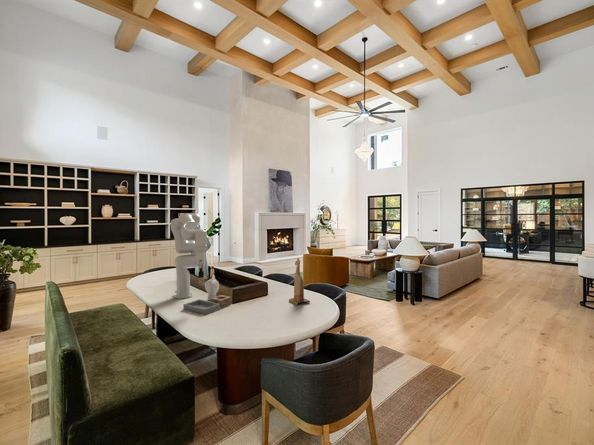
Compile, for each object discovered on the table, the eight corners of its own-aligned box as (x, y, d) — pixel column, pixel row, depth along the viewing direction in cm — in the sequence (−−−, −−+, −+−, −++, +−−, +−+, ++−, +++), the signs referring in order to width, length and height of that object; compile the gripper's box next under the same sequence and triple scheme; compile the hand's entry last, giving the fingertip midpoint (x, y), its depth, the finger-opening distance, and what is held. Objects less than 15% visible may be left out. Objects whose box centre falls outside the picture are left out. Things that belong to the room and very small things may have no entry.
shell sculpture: (211, 302, 207) (210, 277, 206) (204, 300, 212) (203, 275, 211) (220, 299, 214) (220, 275, 213) (213, 297, 219) (213, 273, 218)
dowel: (198, 285, 189) (198, 264, 189) (198, 284, 193) (198, 263, 192) (204, 285, 190) (204, 264, 190) (204, 284, 193) (204, 263, 193)
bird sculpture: (301, 299, 214) (300, 256, 214) (310, 303, 204) (309, 257, 204) (288, 302, 208) (287, 257, 208) (297, 306, 198) (295, 259, 198)
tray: (183, 309, 191) (183, 304, 191) (199, 304, 203) (199, 299, 202) (204, 315, 181) (204, 309, 181) (220, 309, 192) (219, 303, 192)
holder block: (210, 305, 200) (210, 298, 199) (221, 301, 208) (221, 294, 208) (221, 308, 194) (221, 300, 194) (231, 304, 203) (231, 296, 203)
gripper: (196, 247, 198) (196, 274, 198) (193, 250, 182) (194, 279, 182) (207, 247, 200) (208, 273, 200) (206, 250, 183) (206, 279, 184)
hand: (201, 276), depth 191 cm, fingers closed on dowel, 3 cm apart
